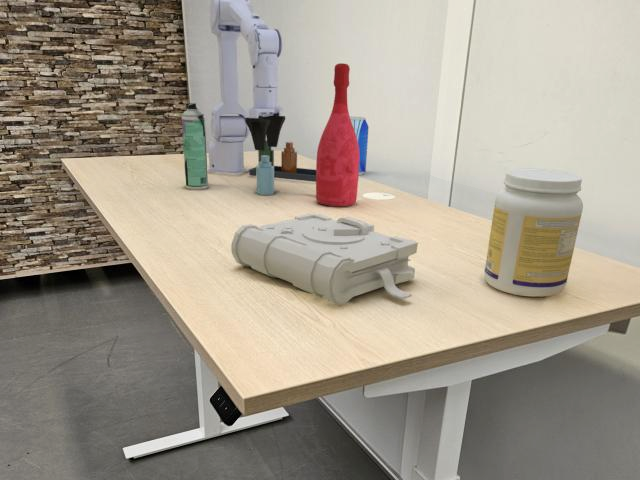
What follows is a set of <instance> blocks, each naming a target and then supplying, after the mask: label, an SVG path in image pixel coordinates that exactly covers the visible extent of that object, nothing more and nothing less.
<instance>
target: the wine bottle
mask: <svg viewBox="0 0 640 480" xmlns="http://www.w3.org/2000/svg"><path fill="white" fill-rule="evenodd" d="M350 67H351V66H350V65H349V64H347V63H343V62H342V63H341V62H339V63H336V64H335V66H334V68H333V69H334V75H333V87H334V99H333V105H332V109H331V113H330V116H329V118H328V121H327V122H326V124H325V127H324V129H323V131H322V134H321V136H320V139H319V142H318V146H317V150H316V151H317V152H316V162H315V163H316V166H315V167H316V168H315V170H316V182H315V198H316V201H317V202H318V203H319V204H322V205H323V206H327V207H328V206H329V207H337V208H338V207H349V206H352V205H354V204H355V203H356V201H357V197H358V188H359V176H360V175H359V160H360V154H359V146H358V141H357V137H356V134H355V131H354V128H353V125H352V122H351V119H350V112H349V106H348V88H349V86H350V70H351V69H350Z"/></svg>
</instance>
